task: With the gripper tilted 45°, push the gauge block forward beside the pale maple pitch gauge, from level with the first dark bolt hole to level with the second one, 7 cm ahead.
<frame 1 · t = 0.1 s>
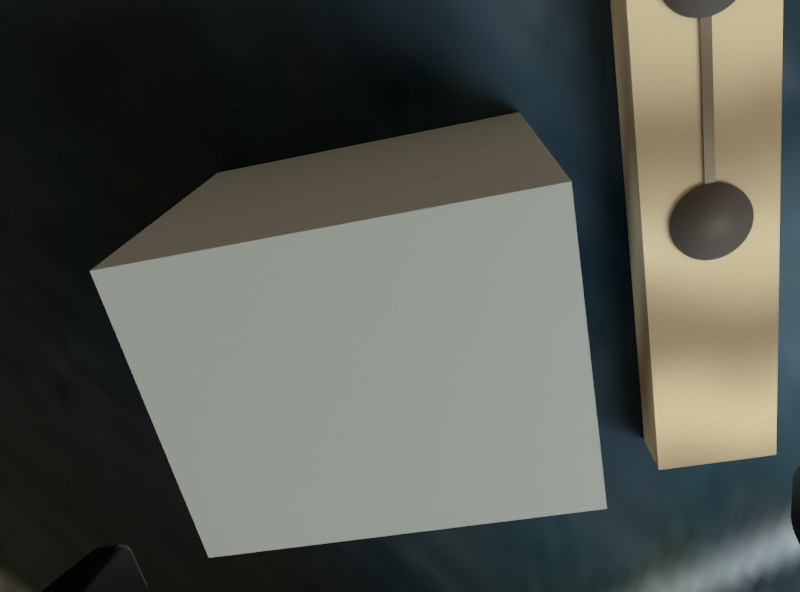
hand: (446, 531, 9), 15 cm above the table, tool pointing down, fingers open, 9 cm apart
gauge block: (390, 257, 23), on the table
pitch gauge: (687, 144, 21), on the table
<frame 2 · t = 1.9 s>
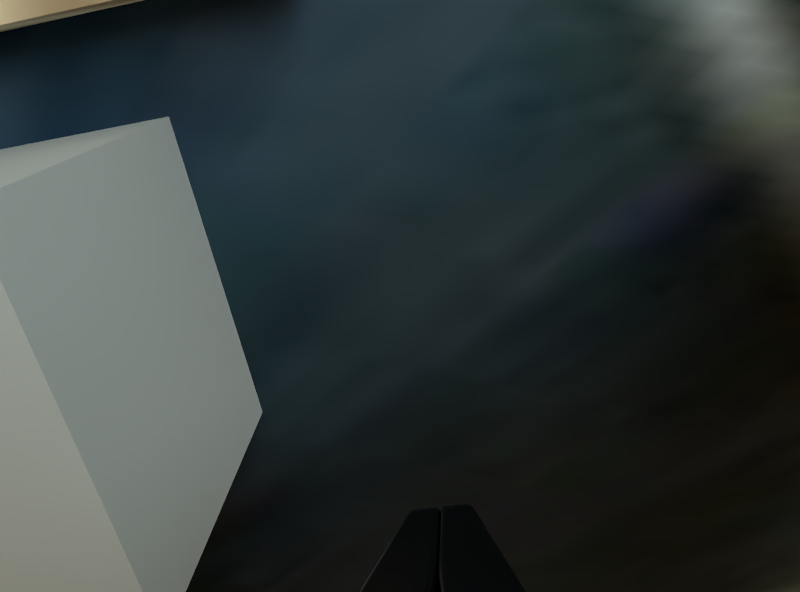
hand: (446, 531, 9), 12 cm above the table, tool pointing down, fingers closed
gauge block: (102, 296, 21), on the table
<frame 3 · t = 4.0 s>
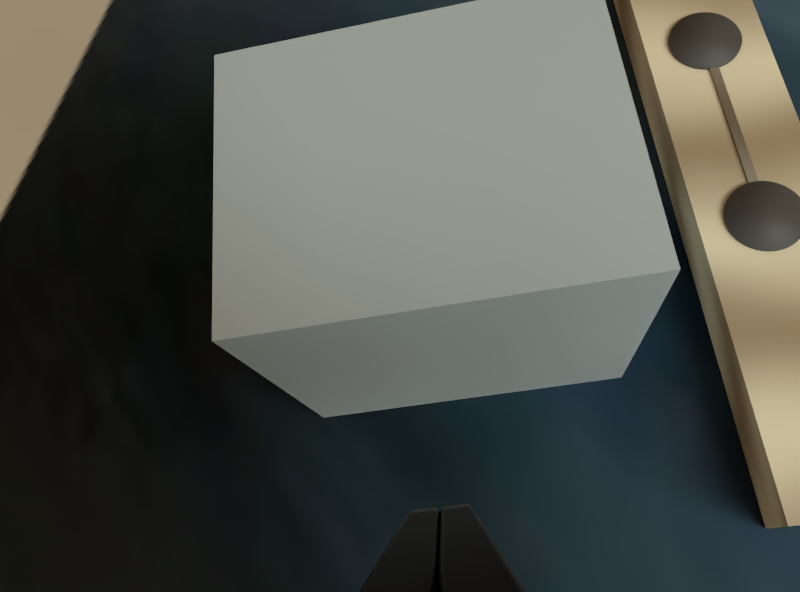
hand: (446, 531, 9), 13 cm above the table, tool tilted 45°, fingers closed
gauge block: (453, 288, 24), on the table
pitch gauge: (730, 190, 23), on the table
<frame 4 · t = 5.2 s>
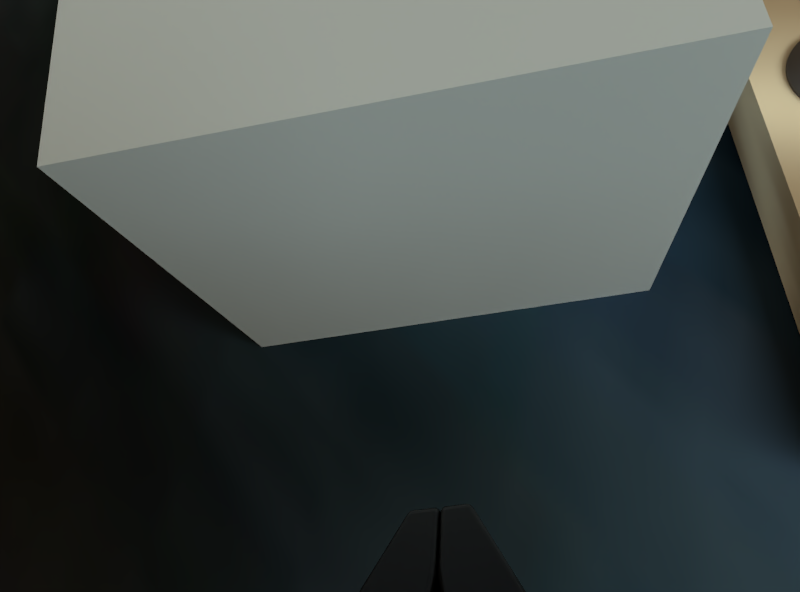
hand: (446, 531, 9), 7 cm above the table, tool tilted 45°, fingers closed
gauge block: (431, 186, 19), on the table
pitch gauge: (786, 57, 18), on the table
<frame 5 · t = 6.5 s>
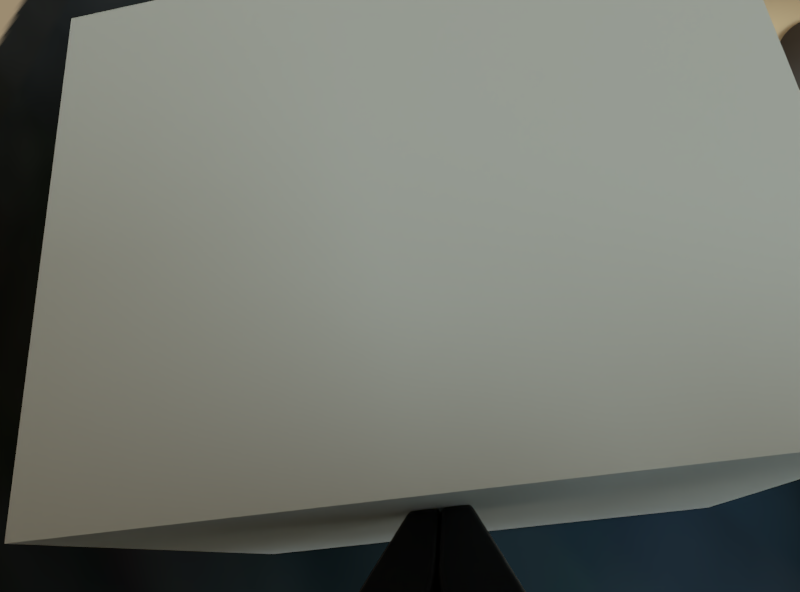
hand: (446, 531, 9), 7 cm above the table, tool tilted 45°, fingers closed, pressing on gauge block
gauge block: (459, 364, 17), on the table, touching gripper
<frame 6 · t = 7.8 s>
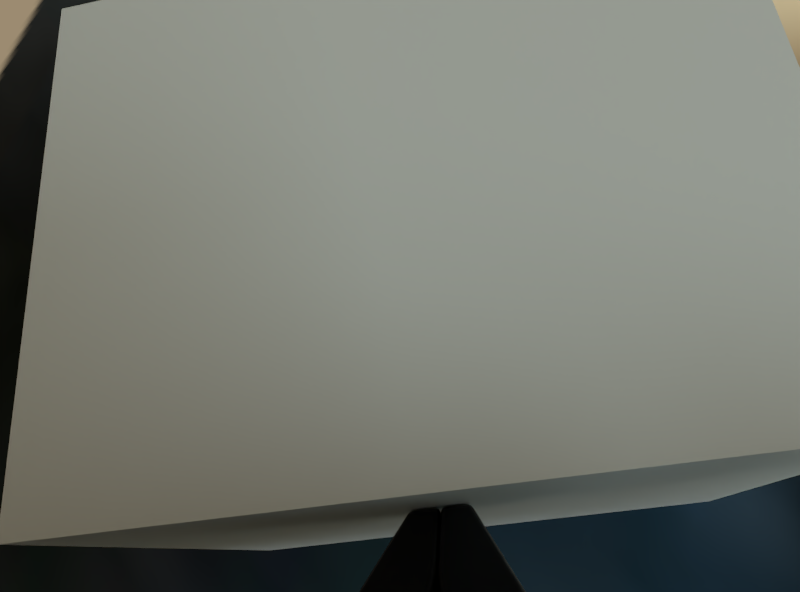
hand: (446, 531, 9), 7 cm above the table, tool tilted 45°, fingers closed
gauge block: (457, 359, 17), on the table
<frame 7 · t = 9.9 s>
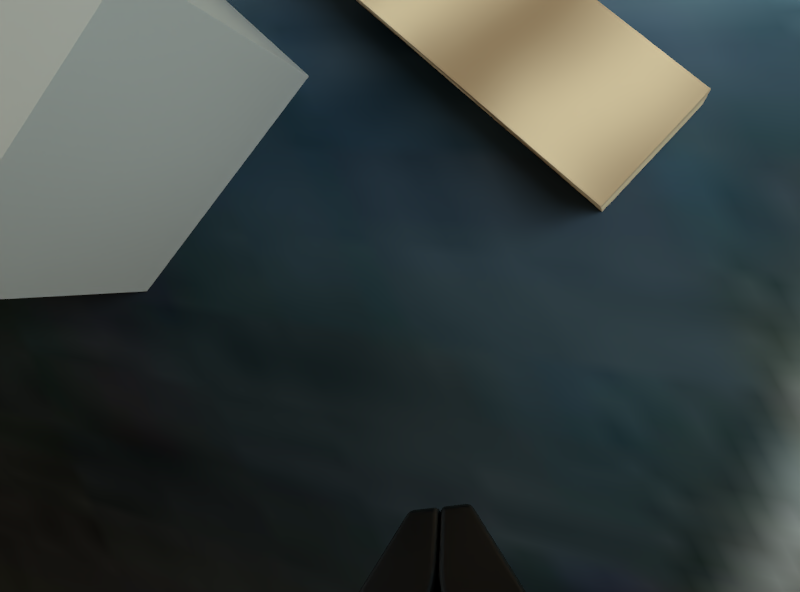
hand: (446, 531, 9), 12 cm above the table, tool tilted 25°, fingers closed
gauge block: (154, 119, 25), on the table
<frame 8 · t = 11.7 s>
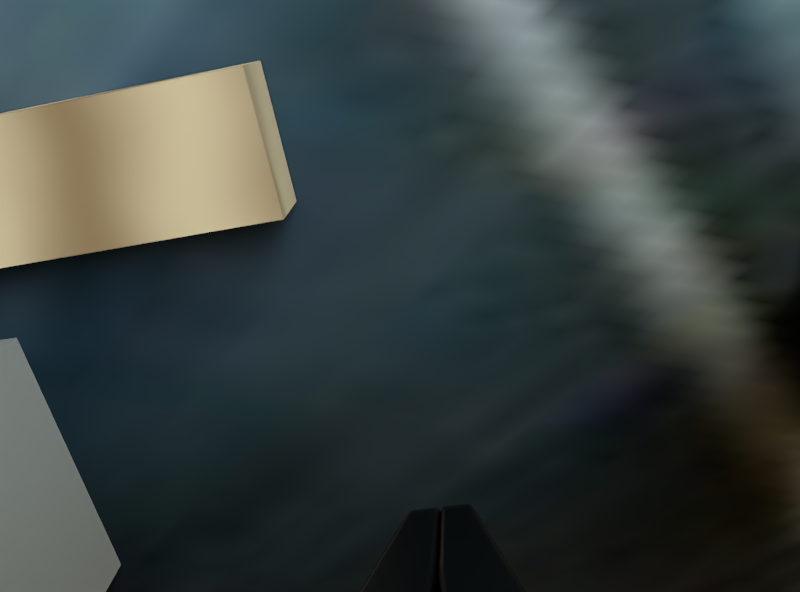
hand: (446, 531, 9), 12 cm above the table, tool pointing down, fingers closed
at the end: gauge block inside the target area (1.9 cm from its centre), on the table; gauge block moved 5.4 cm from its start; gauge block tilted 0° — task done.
